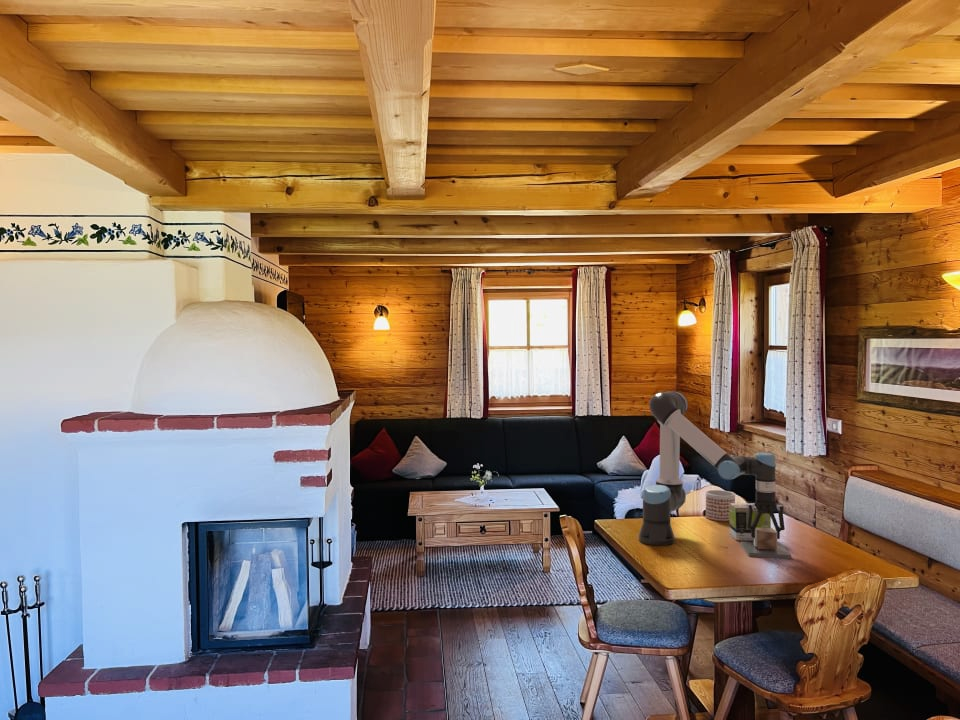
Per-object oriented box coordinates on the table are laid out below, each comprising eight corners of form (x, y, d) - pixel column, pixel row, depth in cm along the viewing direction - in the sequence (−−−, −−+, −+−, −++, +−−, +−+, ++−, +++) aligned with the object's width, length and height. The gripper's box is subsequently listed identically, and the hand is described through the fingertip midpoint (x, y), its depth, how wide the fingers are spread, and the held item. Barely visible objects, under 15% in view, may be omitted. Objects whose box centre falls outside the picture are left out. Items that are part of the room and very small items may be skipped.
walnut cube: (758, 548, 266) (758, 531, 266) (754, 544, 273) (754, 527, 273) (776, 549, 265) (776, 532, 265) (772, 544, 272) (772, 528, 272)
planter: (708, 521, 318) (708, 495, 318) (703, 514, 332) (703, 489, 331) (737, 522, 316) (737, 496, 316) (731, 515, 329) (731, 490, 329)
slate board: (748, 556, 263) (748, 552, 263) (740, 544, 278) (740, 541, 278) (791, 558, 260) (791, 555, 260) (780, 547, 275) (780, 543, 275)
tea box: (763, 535, 293) (763, 502, 293) (771, 541, 283) (771, 508, 283) (729, 534, 295) (729, 502, 295) (735, 540, 285) (735, 507, 285)
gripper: (741, 491, 267) (741, 547, 267) (793, 493, 263) (793, 550, 263) (738, 488, 274) (738, 542, 275) (788, 489, 271) (788, 544, 271)
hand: (765, 546), depth 269 cm, fingers closed on walnut cube, 7 cm apart
